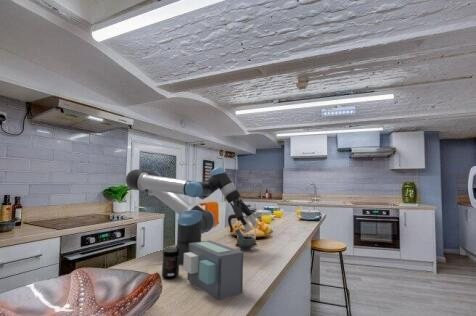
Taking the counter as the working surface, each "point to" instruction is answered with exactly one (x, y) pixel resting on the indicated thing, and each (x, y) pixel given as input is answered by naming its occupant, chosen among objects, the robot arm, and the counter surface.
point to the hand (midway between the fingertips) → (253, 228)
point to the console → (219, 269)
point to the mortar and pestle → (244, 241)
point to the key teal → (207, 271)
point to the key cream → (191, 262)
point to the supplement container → (170, 263)
